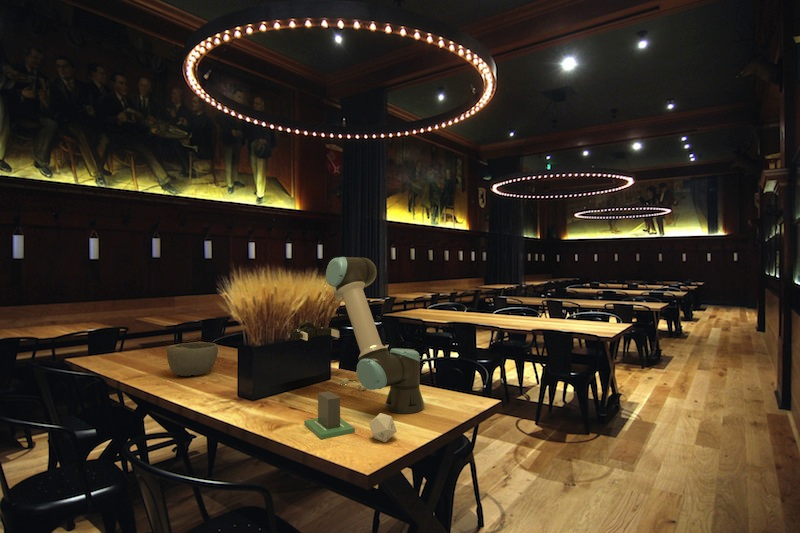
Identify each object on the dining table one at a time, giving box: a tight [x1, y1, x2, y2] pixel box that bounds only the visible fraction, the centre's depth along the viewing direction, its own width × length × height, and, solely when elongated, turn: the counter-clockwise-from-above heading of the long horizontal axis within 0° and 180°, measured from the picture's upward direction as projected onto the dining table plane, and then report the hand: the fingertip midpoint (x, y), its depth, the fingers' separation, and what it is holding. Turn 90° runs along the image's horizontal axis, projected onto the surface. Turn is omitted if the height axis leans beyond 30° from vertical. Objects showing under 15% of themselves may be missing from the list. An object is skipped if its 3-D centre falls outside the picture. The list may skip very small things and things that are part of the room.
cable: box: [339, 377, 368, 392], centre depth 214 cm, size 16×16×4 cm
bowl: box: [166, 341, 219, 377], centre depth 234 cm, size 24×24×15 cm
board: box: [303, 417, 356, 440], centre depth 157 cm, size 16×12×6 cm
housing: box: [317, 390, 341, 429], centre depth 157 cm, size 9×4×10 cm, turn 32°
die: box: [368, 412, 398, 443], centre depth 148 cm, size 8×9×10 cm
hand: (322, 335), depth 183 cm, fingers open, 13 cm apart
